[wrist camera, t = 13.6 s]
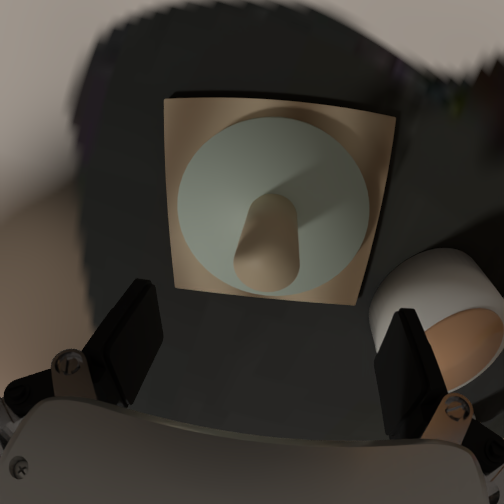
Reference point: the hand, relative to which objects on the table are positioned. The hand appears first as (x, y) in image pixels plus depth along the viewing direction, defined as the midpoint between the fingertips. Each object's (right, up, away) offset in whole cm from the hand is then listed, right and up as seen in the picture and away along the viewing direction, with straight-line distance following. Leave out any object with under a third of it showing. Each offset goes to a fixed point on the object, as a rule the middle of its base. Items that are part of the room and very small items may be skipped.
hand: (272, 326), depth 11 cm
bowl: (+14, -2, +11) cm, 18 cm away
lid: (+1, +5, +8) cm, 10 cm away
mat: (+1, +6, +9) cm, 10 cm away
